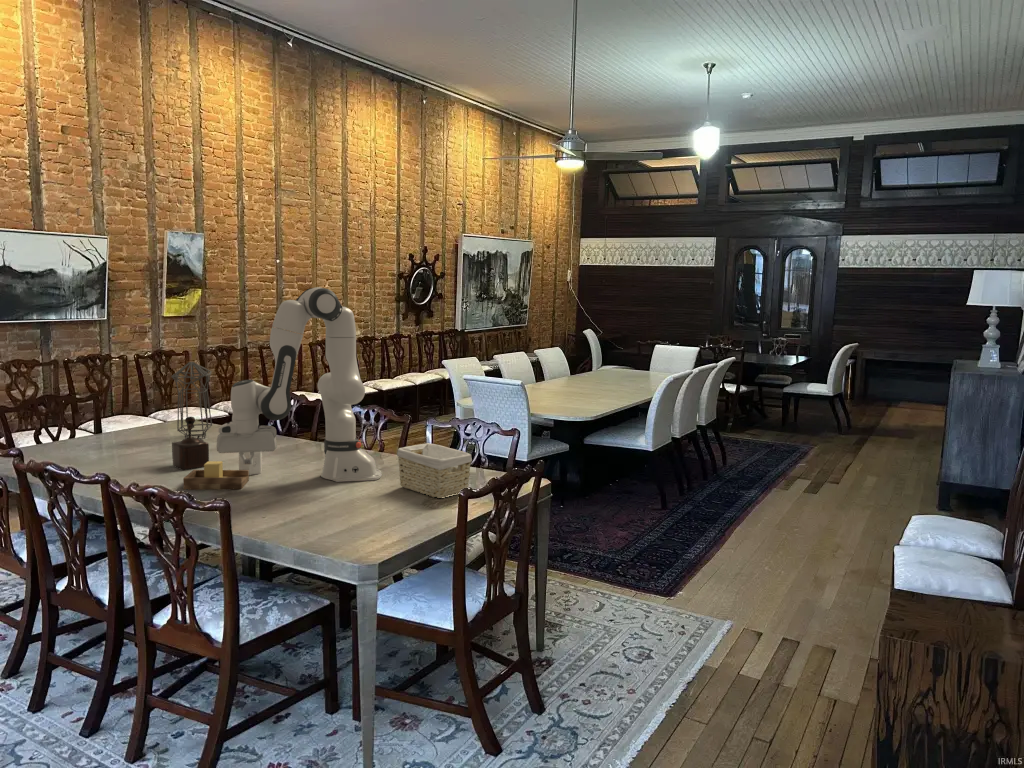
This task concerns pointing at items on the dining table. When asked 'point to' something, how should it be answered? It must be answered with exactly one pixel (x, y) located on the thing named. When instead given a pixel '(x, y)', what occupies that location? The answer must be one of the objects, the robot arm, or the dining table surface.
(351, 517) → the dining table surface
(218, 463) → the block
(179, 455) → the dark brown knobbed box
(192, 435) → the geometric lantern
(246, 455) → the jar
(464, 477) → the storage basket
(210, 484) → the wooden tray
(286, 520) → the dining table surface
